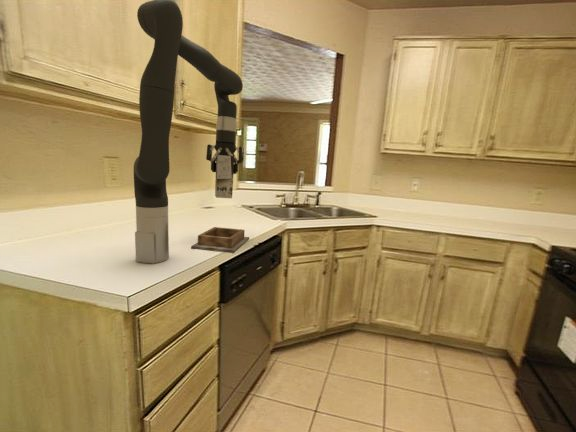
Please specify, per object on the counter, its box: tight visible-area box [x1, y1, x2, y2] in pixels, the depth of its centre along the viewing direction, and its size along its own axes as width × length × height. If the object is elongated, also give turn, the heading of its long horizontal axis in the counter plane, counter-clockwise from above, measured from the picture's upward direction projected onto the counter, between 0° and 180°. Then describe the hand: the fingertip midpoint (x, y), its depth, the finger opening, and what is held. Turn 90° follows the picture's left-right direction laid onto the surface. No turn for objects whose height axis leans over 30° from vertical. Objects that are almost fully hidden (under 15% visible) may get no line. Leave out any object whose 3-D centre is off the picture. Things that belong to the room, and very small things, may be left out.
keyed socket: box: [190, 226, 250, 254], centre depth 119 cm, size 16×20×4 cm
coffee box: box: [214, 155, 234, 199], centre depth 120 cm, size 9×6×16 cm
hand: (224, 173), depth 120 cm, fingers closed on coffee box, 8 cm apart
